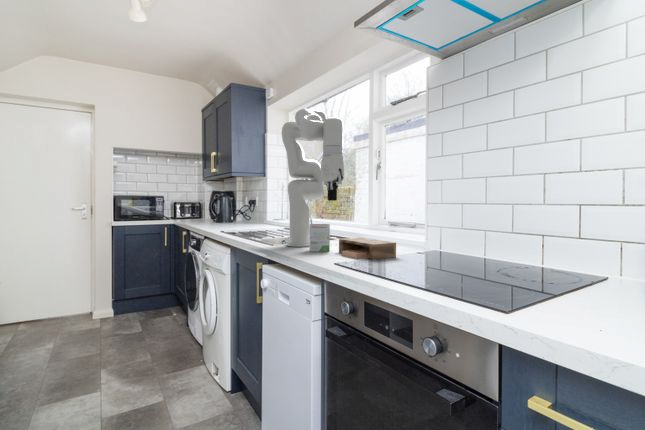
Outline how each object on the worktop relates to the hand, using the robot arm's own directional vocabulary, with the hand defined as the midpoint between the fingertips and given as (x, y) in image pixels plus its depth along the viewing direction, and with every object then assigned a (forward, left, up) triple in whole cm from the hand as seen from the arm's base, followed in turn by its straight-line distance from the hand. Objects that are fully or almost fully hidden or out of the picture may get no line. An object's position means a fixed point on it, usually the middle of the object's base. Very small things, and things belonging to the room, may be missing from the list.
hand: (332, 200), depth 132 cm
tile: (+3, +13, -22) cm, 26 cm away
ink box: (-17, +5, -22) cm, 28 cm away
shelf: (+2, +15, -22) cm, 26 cm away
